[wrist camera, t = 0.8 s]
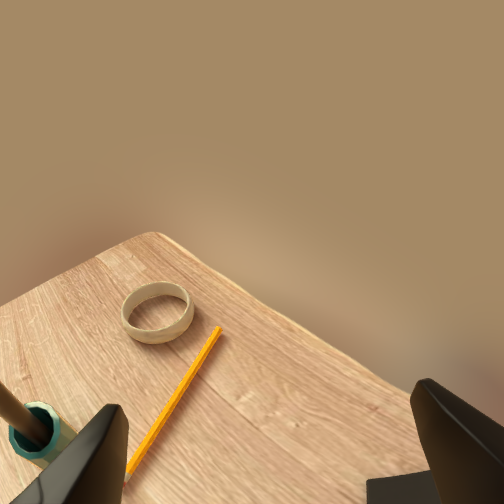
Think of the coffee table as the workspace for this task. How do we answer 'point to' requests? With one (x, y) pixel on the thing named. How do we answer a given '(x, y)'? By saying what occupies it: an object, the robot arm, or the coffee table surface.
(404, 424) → the coffee table surface
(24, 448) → the pot
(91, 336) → the coffee table surface
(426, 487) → the mat
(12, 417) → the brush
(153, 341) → the ring
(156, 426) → the pencil
